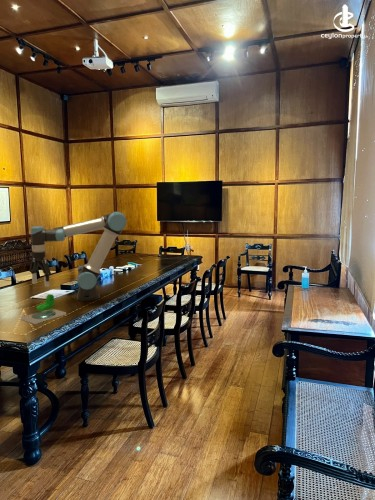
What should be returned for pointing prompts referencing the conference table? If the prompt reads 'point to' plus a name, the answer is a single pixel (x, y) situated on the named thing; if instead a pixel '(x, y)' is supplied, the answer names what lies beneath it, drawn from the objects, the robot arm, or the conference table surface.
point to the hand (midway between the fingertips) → (40, 284)
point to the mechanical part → (46, 303)
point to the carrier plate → (43, 316)
